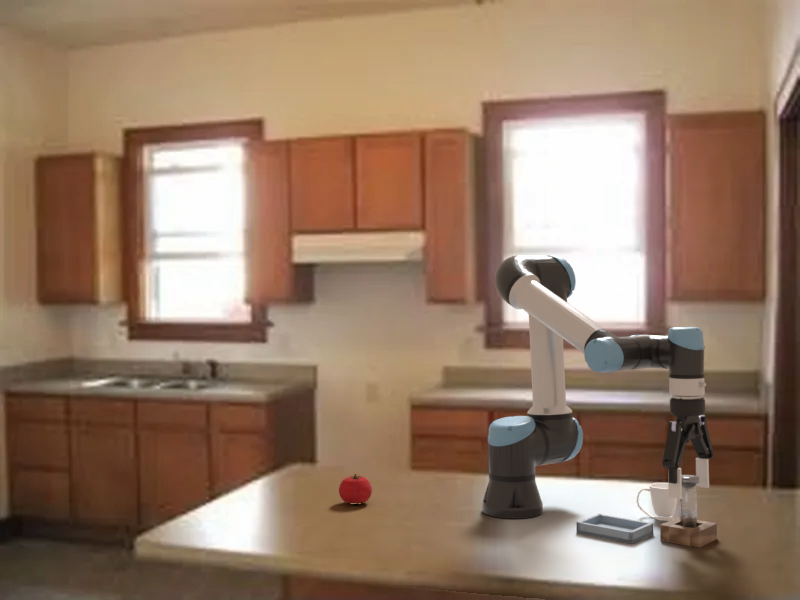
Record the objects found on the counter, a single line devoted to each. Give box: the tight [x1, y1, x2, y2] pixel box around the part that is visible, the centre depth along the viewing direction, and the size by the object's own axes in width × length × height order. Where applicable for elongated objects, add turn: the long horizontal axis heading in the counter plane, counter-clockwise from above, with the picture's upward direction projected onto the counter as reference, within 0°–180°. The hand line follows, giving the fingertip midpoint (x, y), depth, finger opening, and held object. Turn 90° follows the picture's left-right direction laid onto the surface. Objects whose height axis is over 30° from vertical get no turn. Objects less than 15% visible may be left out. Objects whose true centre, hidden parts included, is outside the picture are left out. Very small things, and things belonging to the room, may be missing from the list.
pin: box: [679, 474, 699, 528], centre depth 205 cm, size 5×5×14 cm
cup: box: [636, 482, 678, 522], centre depth 224 cm, size 7×10×8 cm
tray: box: [575, 513, 654, 545], centre depth 211 cm, size 14×10×2 cm
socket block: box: [659, 516, 718, 549], centre depth 205 cm, size 9×9×4 cm
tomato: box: [338, 473, 373, 504], centre depth 244 cm, size 9×9×8 cm
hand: (689, 492), depth 205 cm, fingers open, 13 cm apart
